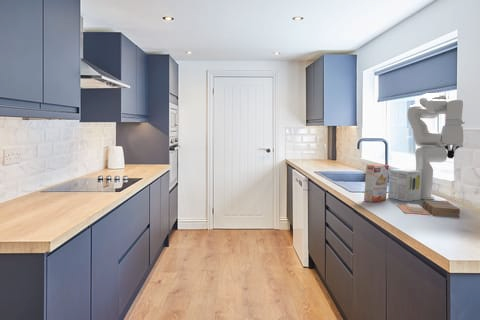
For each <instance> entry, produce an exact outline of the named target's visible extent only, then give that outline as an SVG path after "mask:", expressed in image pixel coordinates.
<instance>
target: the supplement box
mask: <svg viewBox="0 0 480 320" xmlns="http://www.w3.org/2000/svg"><path fill="white" fill-rule="evenodd" d="M421 182H422V171H418V170H416V169H409V168H389V173H388V188H387V198H389V199H394V200H398V201H399V200H400V201H401V202H403V201H404V202H412V201H413V200H414V201H420V200H421V199H420V196H421ZM414 201H413V202H414Z"/></svg>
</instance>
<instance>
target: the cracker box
mask: <svg viewBox="0 0 480 320" xmlns="http://www.w3.org/2000/svg"><path fill="white" fill-rule="evenodd" d="M389 172H390V167H389V164H381V163H380V164H378V163H377V164H366V168H365V179H364V180H365V181H364V184H365V185H364V194H363V195H364V197H363V201H364V202H367V203H368V202H370V203H376V202H383V201H387V196H388V184H389Z"/></svg>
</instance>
